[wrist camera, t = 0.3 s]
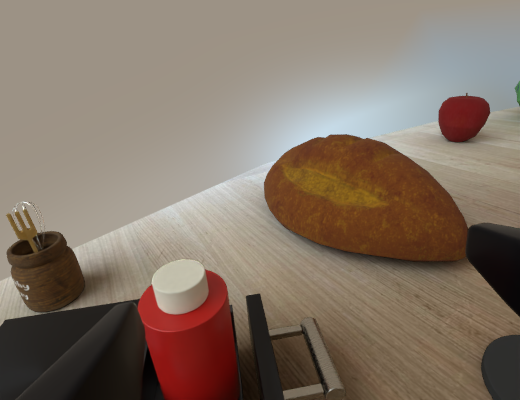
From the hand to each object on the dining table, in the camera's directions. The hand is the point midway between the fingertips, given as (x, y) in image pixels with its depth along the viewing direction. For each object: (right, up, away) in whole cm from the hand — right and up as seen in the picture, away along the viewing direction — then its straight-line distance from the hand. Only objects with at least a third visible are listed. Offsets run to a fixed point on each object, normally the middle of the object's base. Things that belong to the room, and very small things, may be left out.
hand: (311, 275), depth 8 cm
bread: (+12, -1, +39) cm, 41 cm away
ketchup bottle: (-5, -12, +14) cm, 19 cm away
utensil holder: (-24, -9, +27) cm, 38 cm away
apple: (+49, +17, +72) cm, 89 cm away
